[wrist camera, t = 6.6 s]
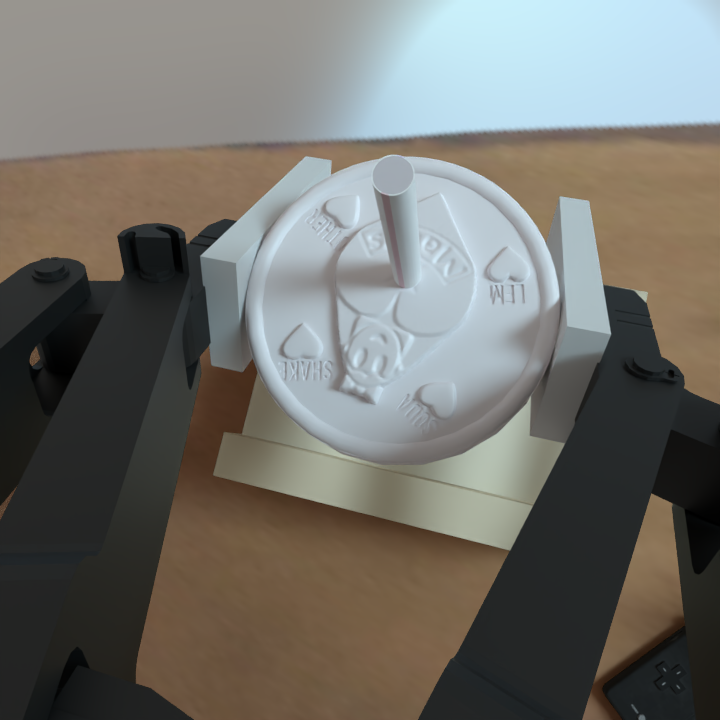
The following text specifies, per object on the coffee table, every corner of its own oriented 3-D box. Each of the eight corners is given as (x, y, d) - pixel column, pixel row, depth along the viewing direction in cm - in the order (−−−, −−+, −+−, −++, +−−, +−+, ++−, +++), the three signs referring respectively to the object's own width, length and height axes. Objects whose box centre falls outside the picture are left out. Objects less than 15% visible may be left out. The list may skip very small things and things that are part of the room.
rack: (610, 320, 31) (647, 292, 25) (570, 551, 29) (599, 573, 24) (302, 263, 33) (276, 226, 28) (250, 471, 32) (212, 475, 27)
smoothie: (530, 320, 21) (718, 63, 7) (465, 490, 20) (533, 566, 6) (365, 260, 22) (251, -62, 8) (298, 420, 21) (54, 356, 8)
